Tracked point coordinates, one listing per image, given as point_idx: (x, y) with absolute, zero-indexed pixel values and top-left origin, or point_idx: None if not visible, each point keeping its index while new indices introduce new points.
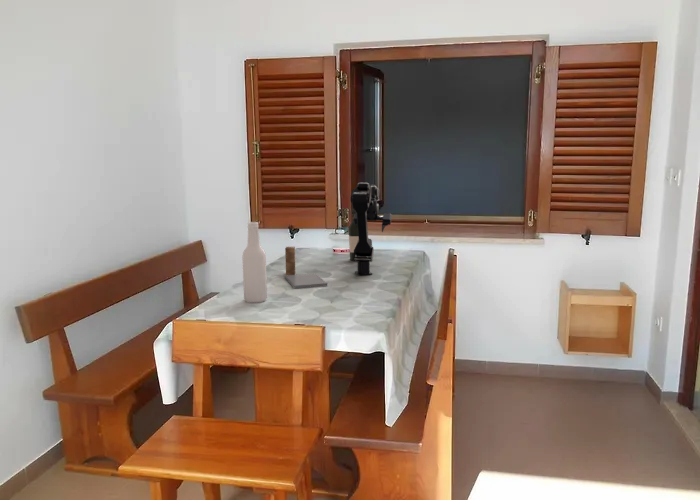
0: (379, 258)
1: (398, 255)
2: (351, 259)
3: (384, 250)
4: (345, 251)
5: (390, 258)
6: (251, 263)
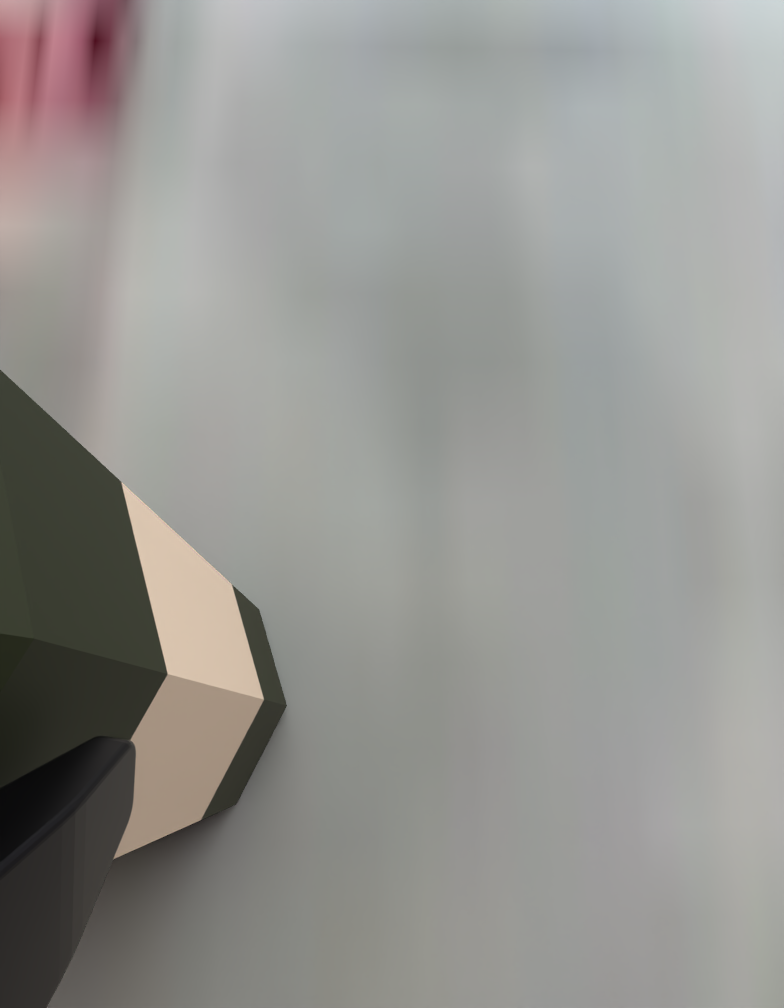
0: (500, 583)
1: (762, 361)
2: None
3: (549, 49)
4: (18, 99)
5: (667, 580)
6: None
